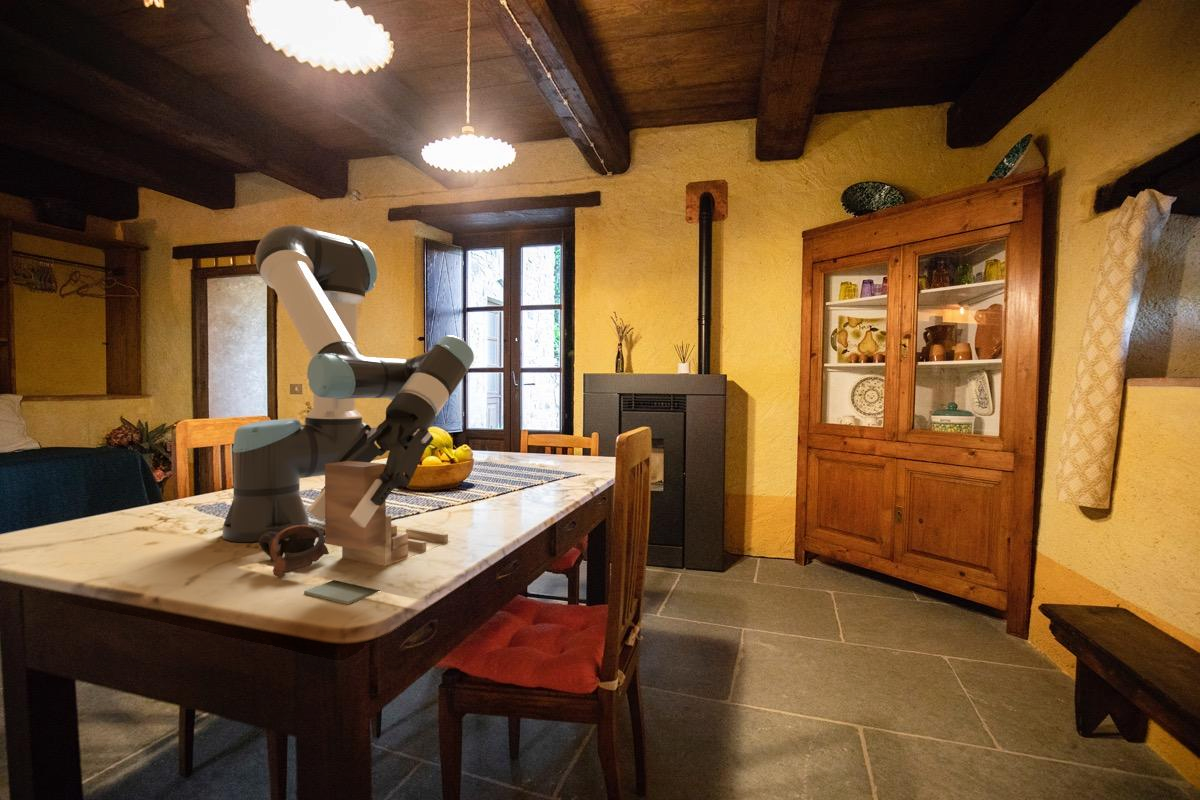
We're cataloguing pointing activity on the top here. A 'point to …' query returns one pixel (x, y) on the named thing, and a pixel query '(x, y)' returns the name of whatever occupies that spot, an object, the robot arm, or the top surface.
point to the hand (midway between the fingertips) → (335, 518)
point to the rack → (397, 545)
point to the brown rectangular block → (352, 505)
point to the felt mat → (340, 591)
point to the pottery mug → (293, 548)
